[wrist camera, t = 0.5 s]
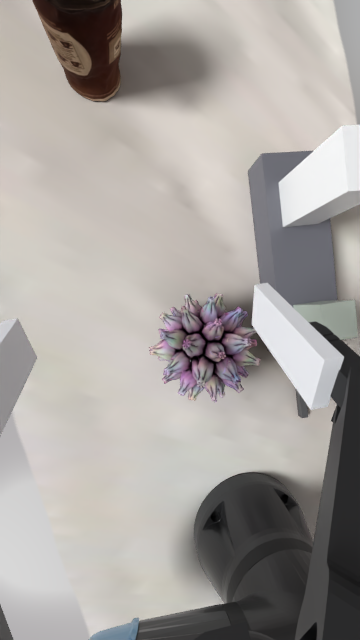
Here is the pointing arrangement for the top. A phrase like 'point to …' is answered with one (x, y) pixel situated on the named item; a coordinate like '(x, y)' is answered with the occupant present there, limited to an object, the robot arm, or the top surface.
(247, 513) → the robot arm
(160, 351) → the flower
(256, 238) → the power strip
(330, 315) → the block
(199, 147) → the top surface
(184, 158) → the top surface
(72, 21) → the coffee cup
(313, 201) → the white rectangular block
